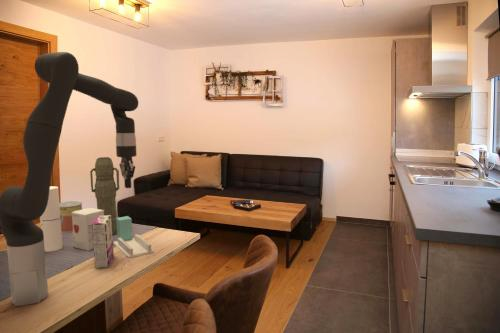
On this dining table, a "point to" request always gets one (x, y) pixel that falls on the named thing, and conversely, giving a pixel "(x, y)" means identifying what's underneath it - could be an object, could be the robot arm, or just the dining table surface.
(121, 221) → the block
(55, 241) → the cylindrical container
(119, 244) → the chute
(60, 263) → the dining table surface
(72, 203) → the canned food
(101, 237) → the candy bar box
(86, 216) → the supplement box
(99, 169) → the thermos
